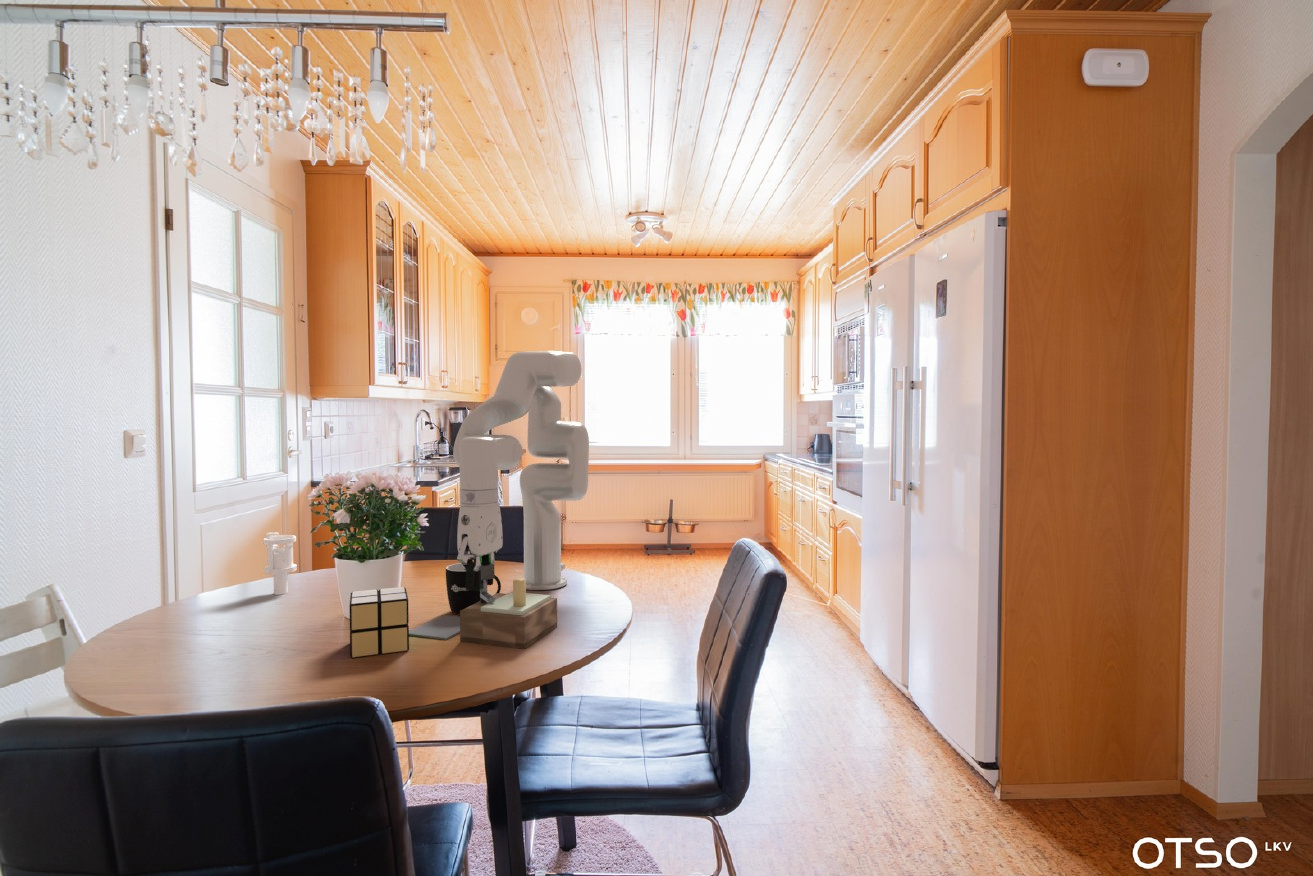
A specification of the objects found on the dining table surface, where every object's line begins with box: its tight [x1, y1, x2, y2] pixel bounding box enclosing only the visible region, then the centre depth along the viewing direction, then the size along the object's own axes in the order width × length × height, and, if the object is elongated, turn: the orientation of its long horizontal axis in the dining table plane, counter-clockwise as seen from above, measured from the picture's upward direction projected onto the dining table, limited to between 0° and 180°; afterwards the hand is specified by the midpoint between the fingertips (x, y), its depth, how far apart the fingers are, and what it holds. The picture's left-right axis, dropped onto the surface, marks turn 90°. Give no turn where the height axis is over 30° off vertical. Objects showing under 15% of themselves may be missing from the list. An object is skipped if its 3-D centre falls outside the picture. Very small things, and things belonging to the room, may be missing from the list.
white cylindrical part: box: [262, 531, 298, 596], centre depth 166 cm, size 7×7×15 cm
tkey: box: [479, 563, 495, 603], centre depth 135 cm, size 4×6×7 cm
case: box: [459, 592, 558, 650], centre depth 135 cm, size 14×14×6 cm
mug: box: [445, 562, 502, 616], centre depth 152 cm, size 12×9×10 cm
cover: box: [481, 577, 552, 615], centre depth 135 cm, size 12×9×6 cm
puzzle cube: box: [349, 586, 410, 659], centre depth 128 cm, size 10×10×10 cm
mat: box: [409, 614, 460, 641], centre depth 139 cm, size 13×10×1 cm
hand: (479, 586), depth 137 cm, fingers closed on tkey, 3 cm apart
